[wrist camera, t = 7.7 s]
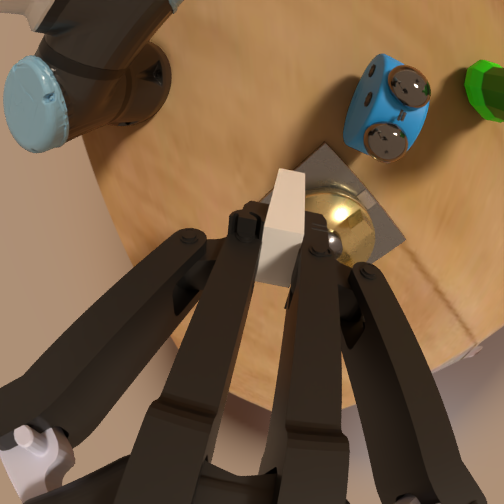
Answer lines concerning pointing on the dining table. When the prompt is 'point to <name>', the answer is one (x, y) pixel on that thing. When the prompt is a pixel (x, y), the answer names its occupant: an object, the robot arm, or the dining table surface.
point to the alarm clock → (387, 109)
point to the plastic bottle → (486, 89)
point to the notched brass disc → (343, 223)
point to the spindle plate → (341, 177)
